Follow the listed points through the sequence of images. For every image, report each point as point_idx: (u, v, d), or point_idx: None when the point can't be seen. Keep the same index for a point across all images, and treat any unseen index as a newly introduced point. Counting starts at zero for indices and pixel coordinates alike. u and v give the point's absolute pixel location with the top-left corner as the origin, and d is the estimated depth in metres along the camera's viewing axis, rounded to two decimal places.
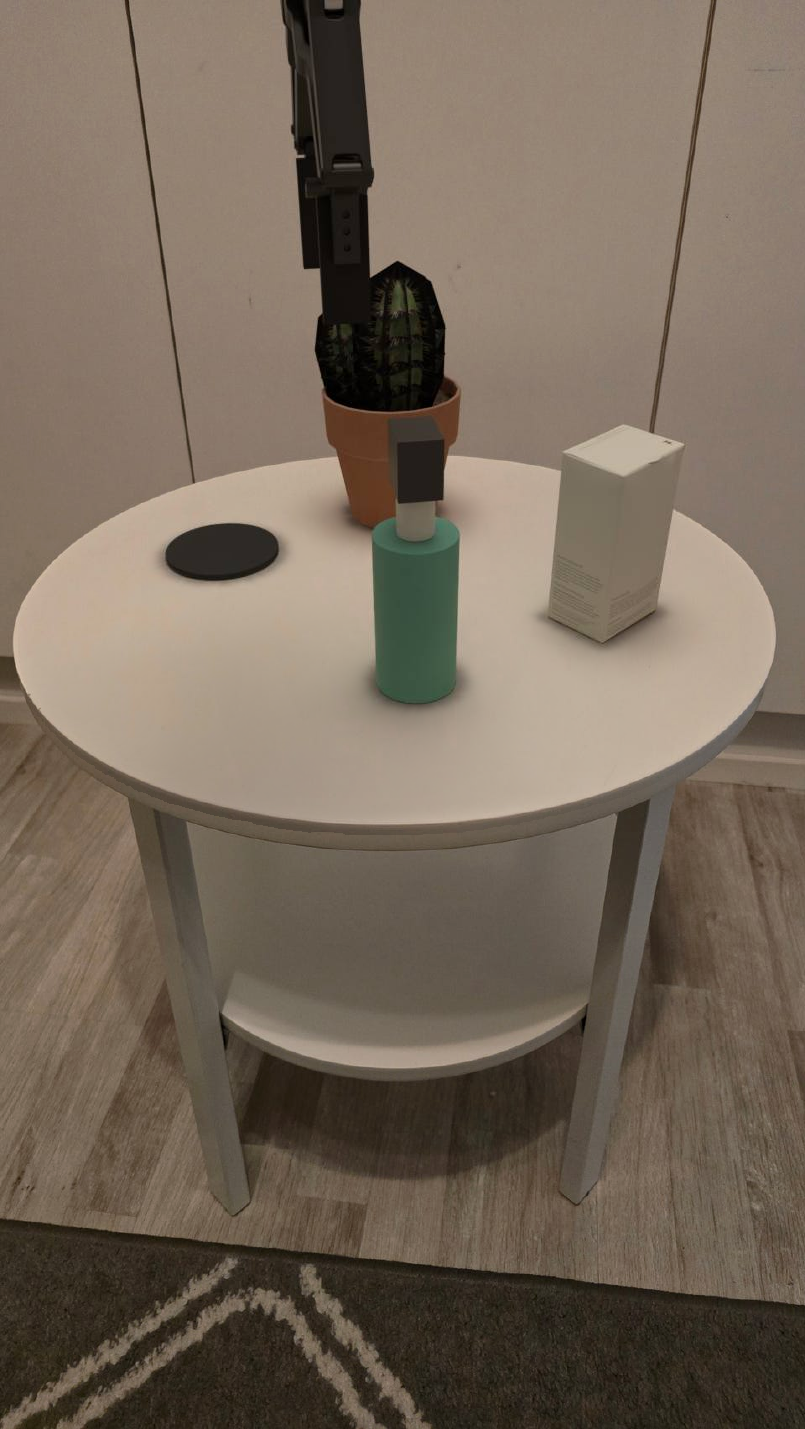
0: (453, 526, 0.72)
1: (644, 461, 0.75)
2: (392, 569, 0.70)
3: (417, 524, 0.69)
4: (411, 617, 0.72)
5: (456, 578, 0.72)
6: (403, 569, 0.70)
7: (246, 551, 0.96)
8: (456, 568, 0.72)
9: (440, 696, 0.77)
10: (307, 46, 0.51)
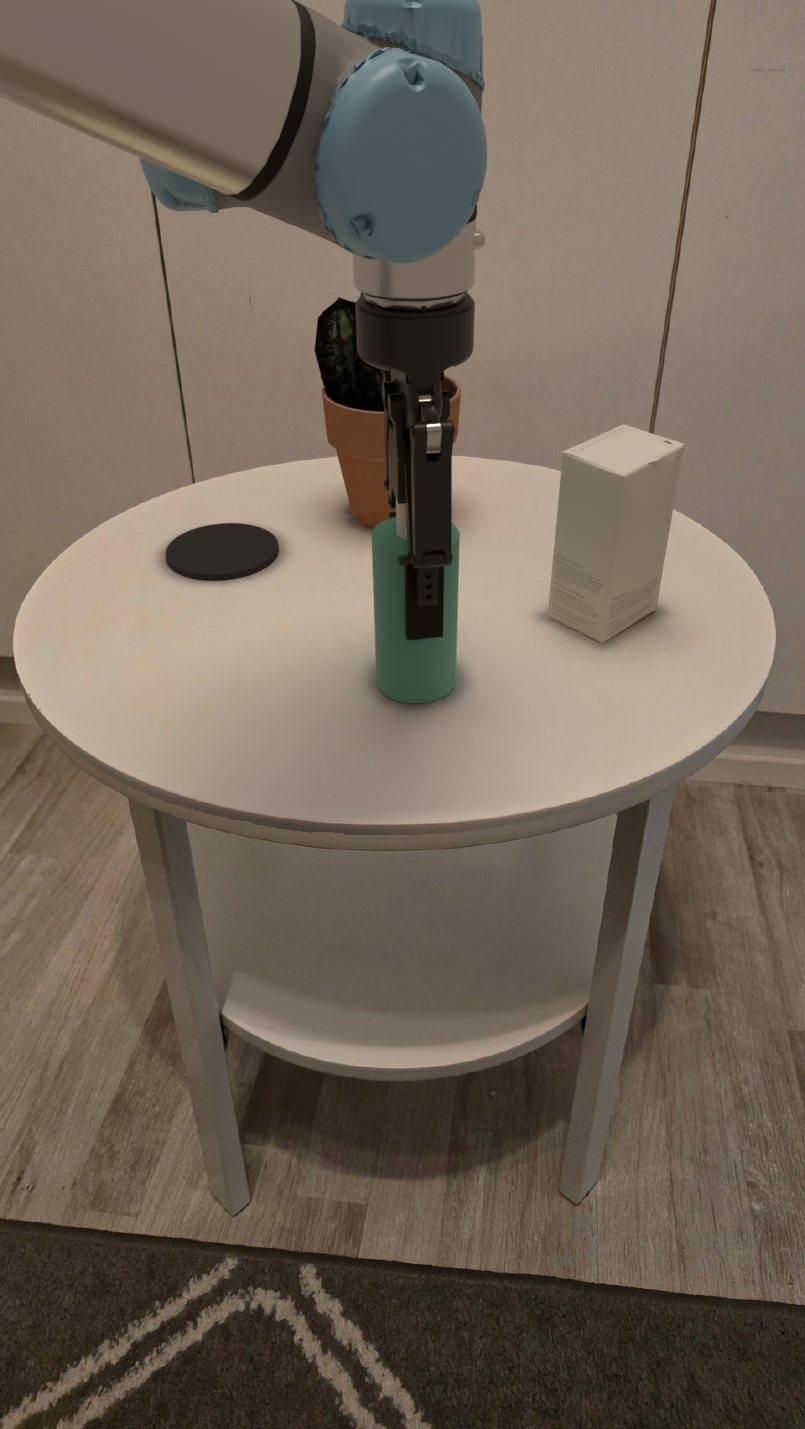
0: (453, 526, 0.72)
1: (644, 461, 0.75)
2: (392, 569, 0.70)
3: None
4: None
5: (456, 578, 0.72)
6: (403, 568, 0.70)
7: (246, 551, 0.96)
8: (456, 568, 0.72)
9: (440, 696, 0.77)
10: (406, 450, 0.65)
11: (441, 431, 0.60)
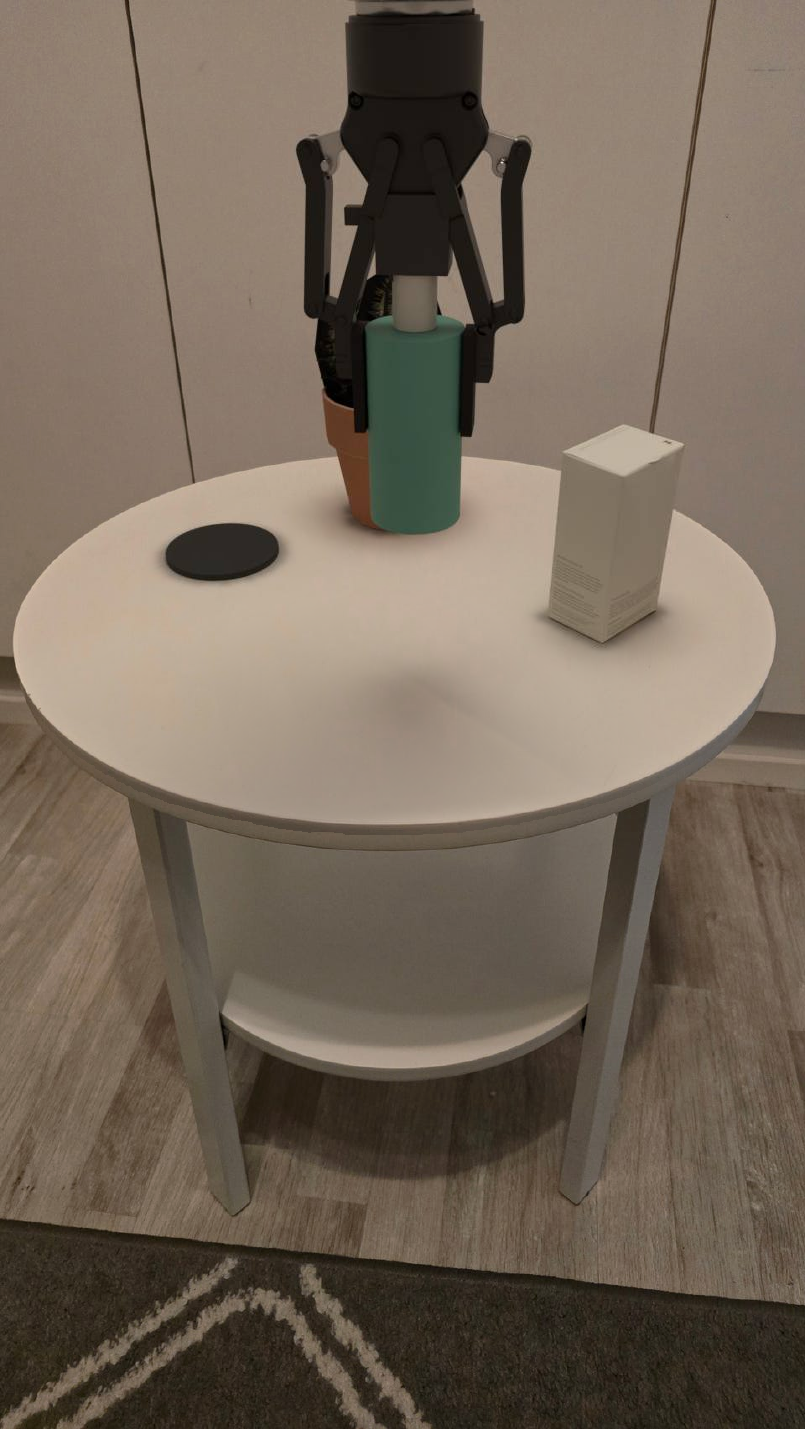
0: None
1: (644, 461, 0.75)
2: (449, 361, 0.62)
3: (436, 305, 0.62)
4: (459, 413, 0.65)
5: None
6: (457, 354, 0.62)
7: (246, 551, 0.96)
8: None
9: None
10: (460, 201, 0.57)
11: (531, 145, 0.56)
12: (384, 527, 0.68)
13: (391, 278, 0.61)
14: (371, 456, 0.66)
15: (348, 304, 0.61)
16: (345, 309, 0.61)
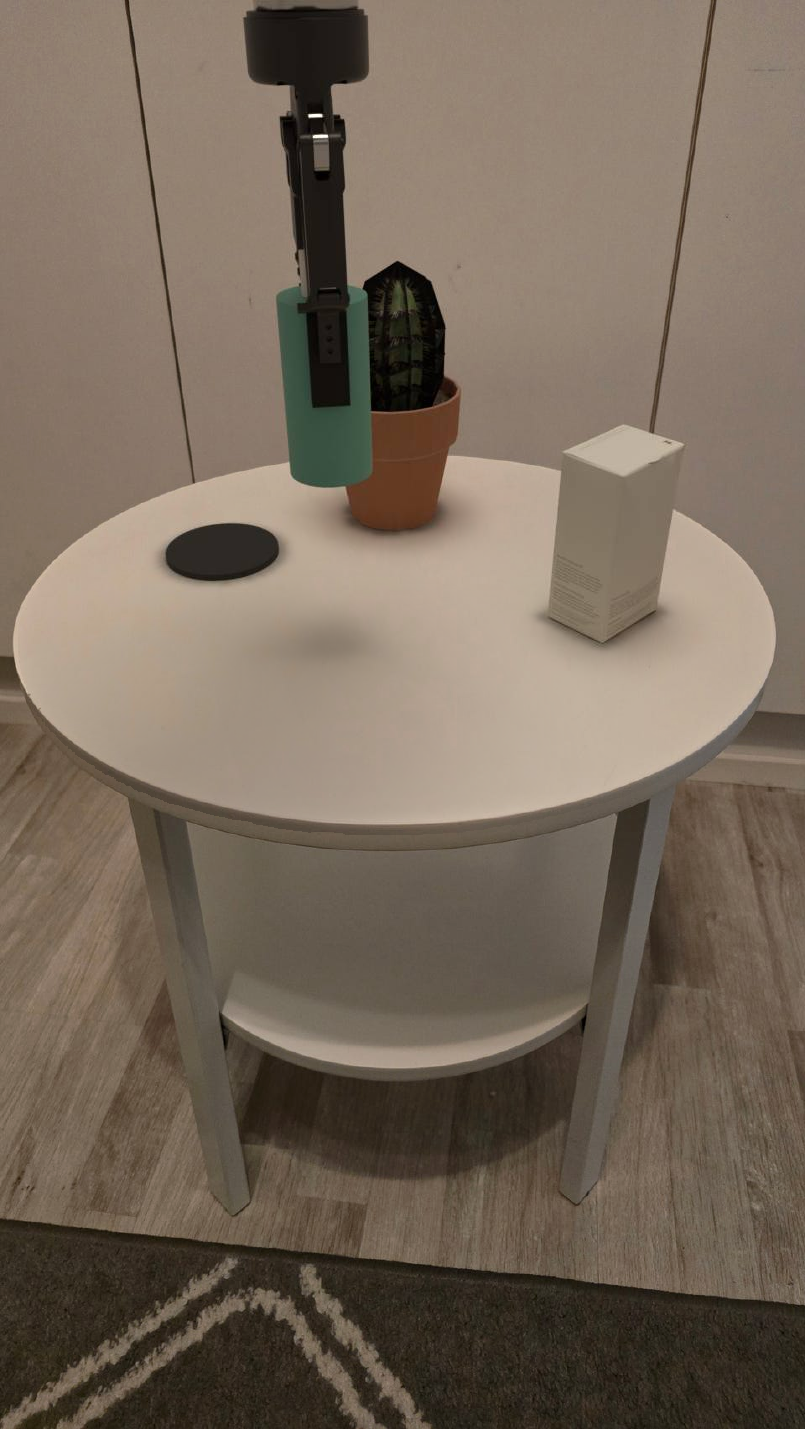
0: (280, 299, 0.68)
1: (644, 461, 0.75)
2: None
3: None
4: None
5: None
6: None
7: (246, 551, 0.96)
8: None
9: None
10: None
11: None
12: (367, 475, 0.75)
13: None
14: (353, 420, 0.72)
15: None
16: None
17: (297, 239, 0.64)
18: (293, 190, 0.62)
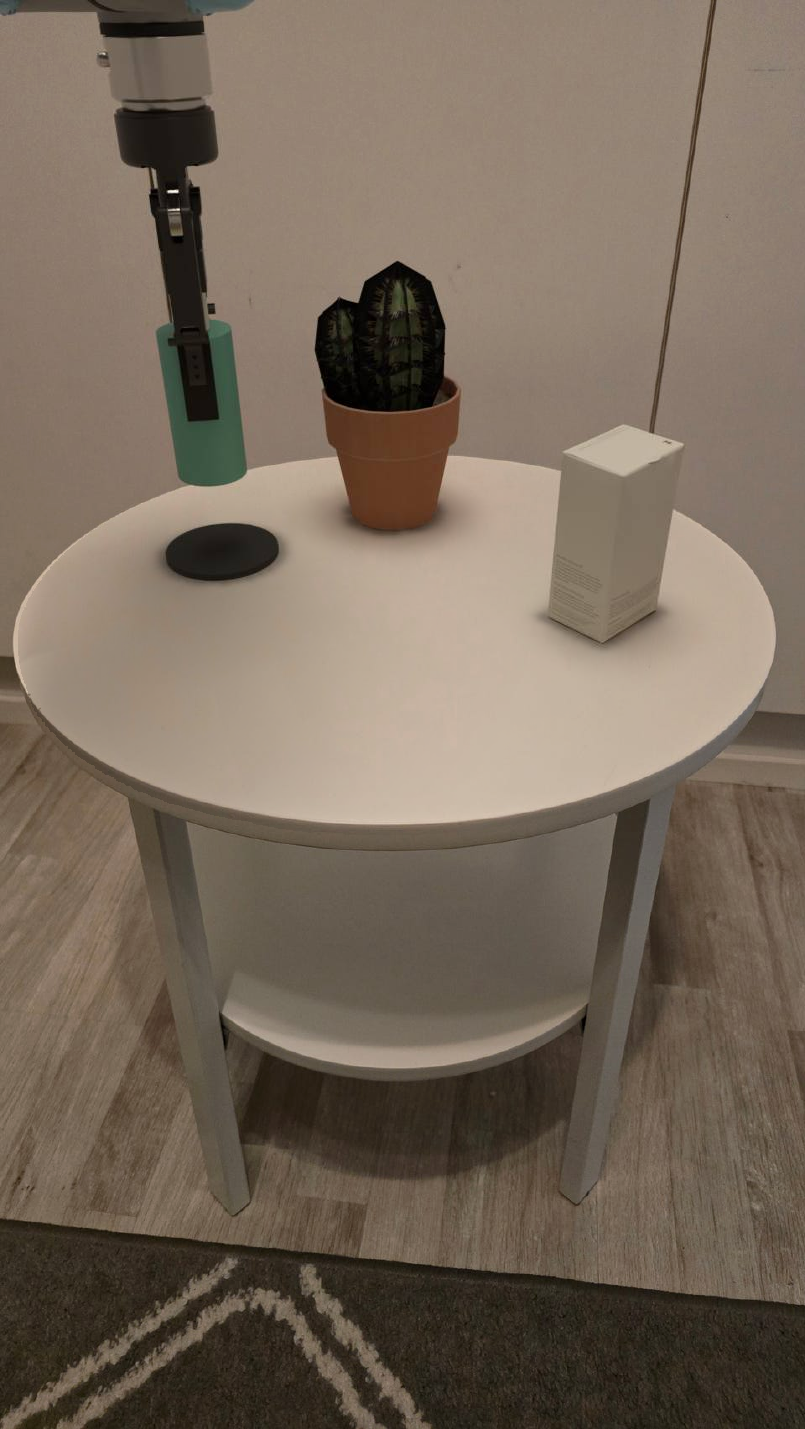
0: (158, 333, 0.83)
1: (644, 461, 0.75)
2: None
3: None
4: None
5: None
6: None
7: (246, 551, 0.96)
8: None
9: None
10: None
11: None
12: (241, 476, 0.91)
13: None
14: (224, 431, 0.87)
15: None
16: None
17: (167, 286, 0.80)
18: (160, 248, 0.78)
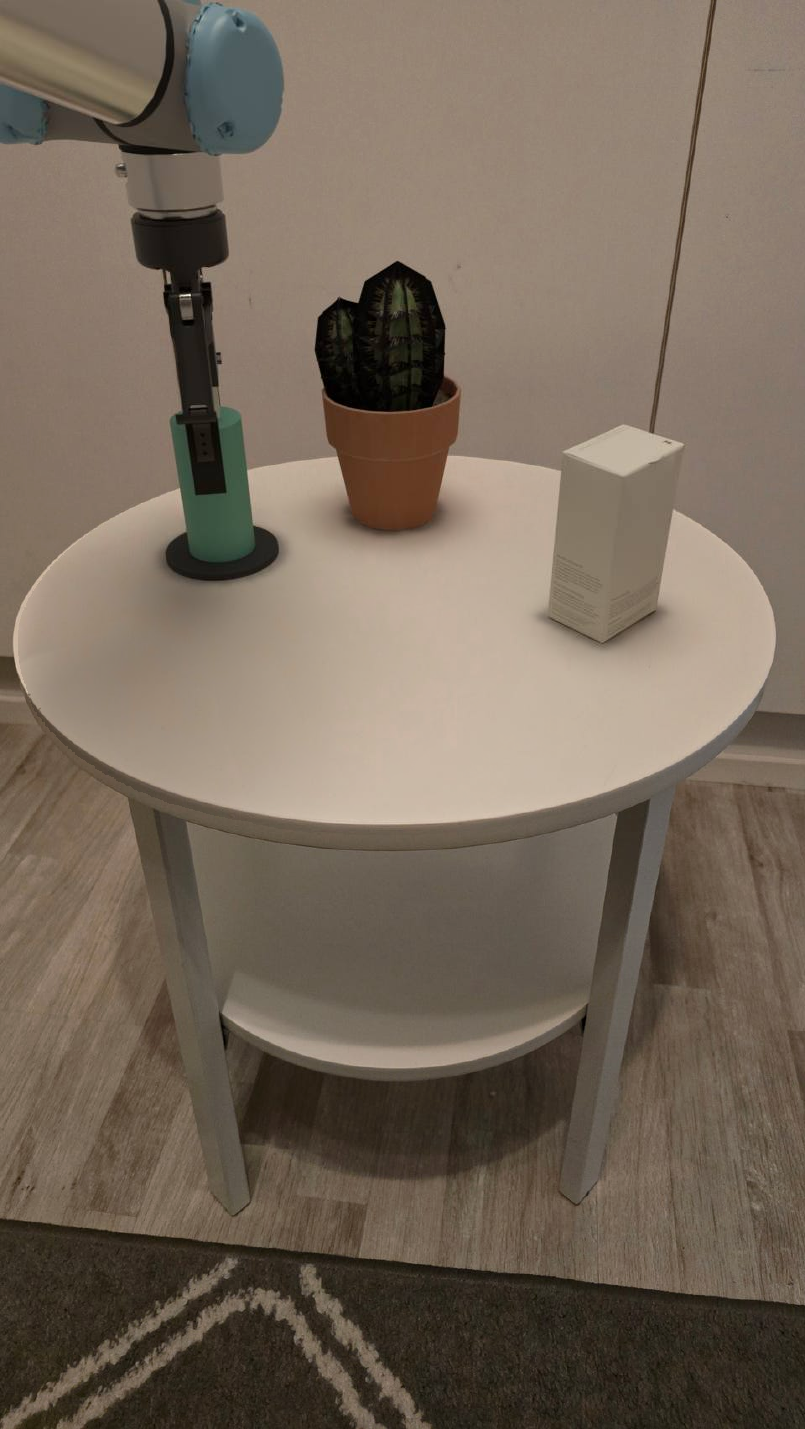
0: (172, 422, 0.88)
1: (644, 461, 0.75)
2: None
3: None
4: None
5: None
6: None
7: None
8: None
9: None
10: None
11: None
12: (249, 552, 0.95)
13: None
14: (234, 511, 0.92)
15: (213, 402, 0.81)
16: None
17: None
18: (171, 336, 0.81)
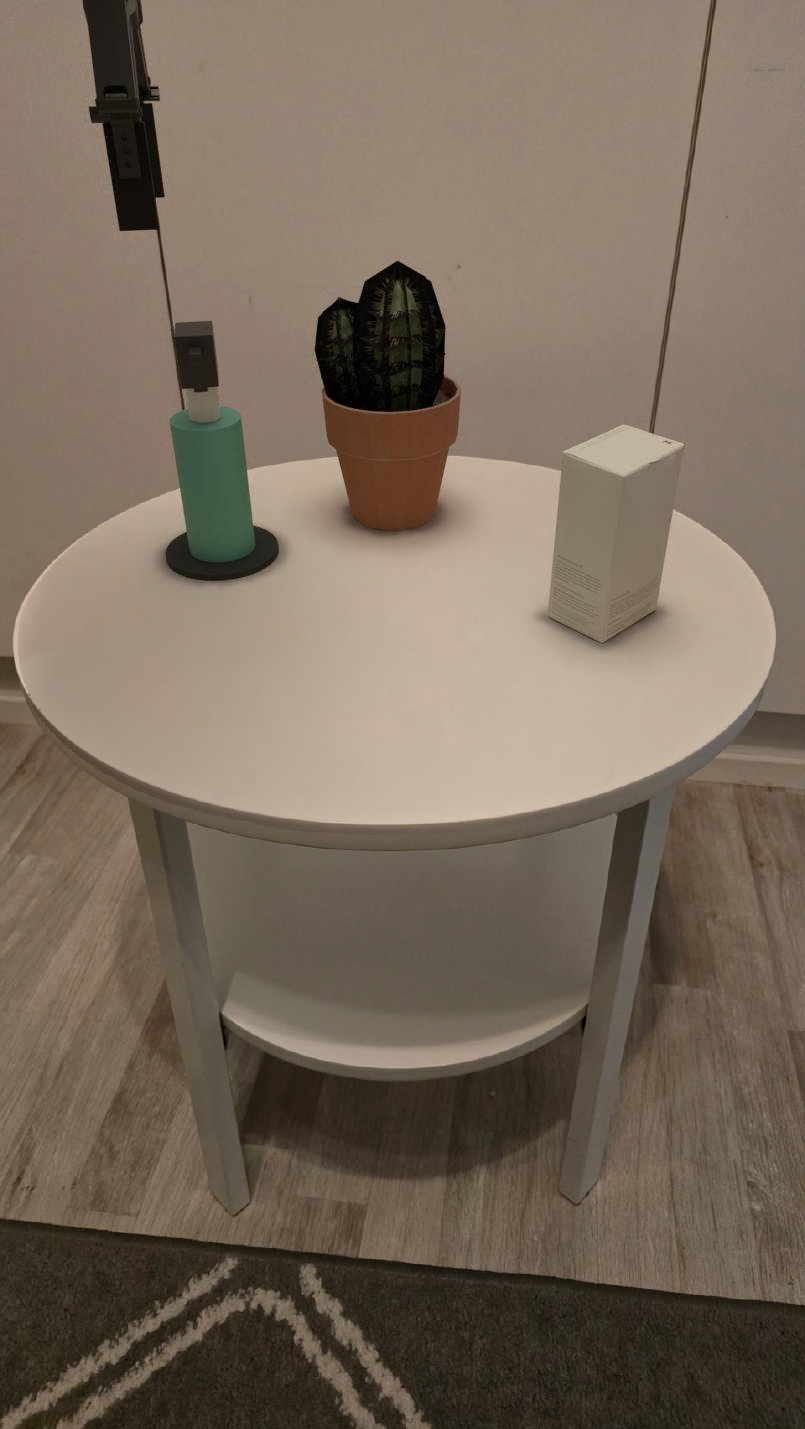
0: (172, 422, 0.88)
1: (644, 461, 0.75)
2: None
3: None
4: None
5: None
6: None
7: None
8: None
9: None
10: None
11: None
12: (249, 552, 0.95)
13: (207, 389, 0.86)
14: (234, 511, 0.92)
15: (138, 97, 0.65)
16: None
17: (181, 381, 0.85)
18: (85, 10, 0.64)
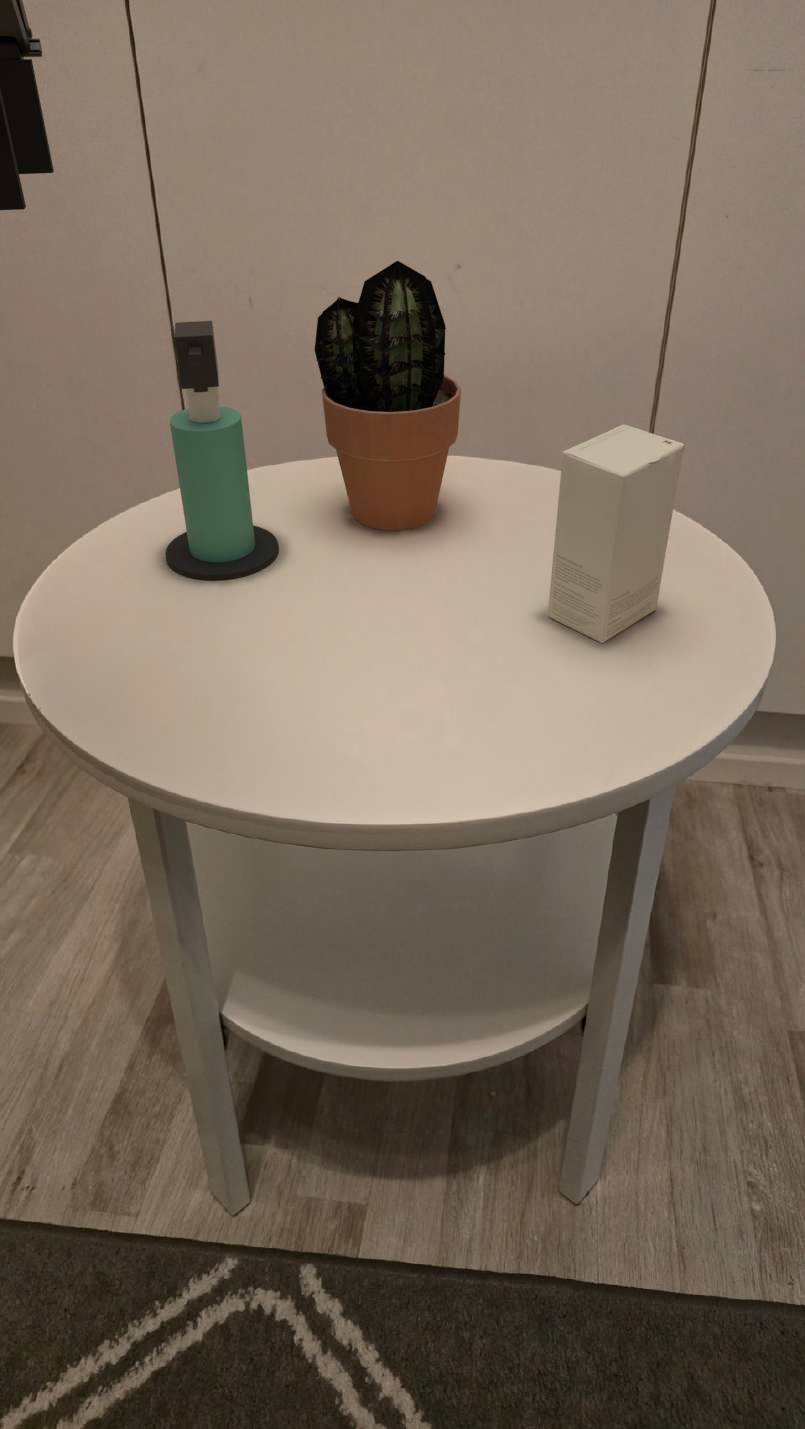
0: (172, 422, 0.88)
1: (644, 461, 0.75)
2: None
3: None
4: None
5: None
6: None
7: None
8: None
9: None
10: None
11: None
12: (249, 552, 0.95)
13: (207, 389, 0.86)
14: (234, 511, 0.92)
15: None
16: None
17: (181, 381, 0.85)
18: None
